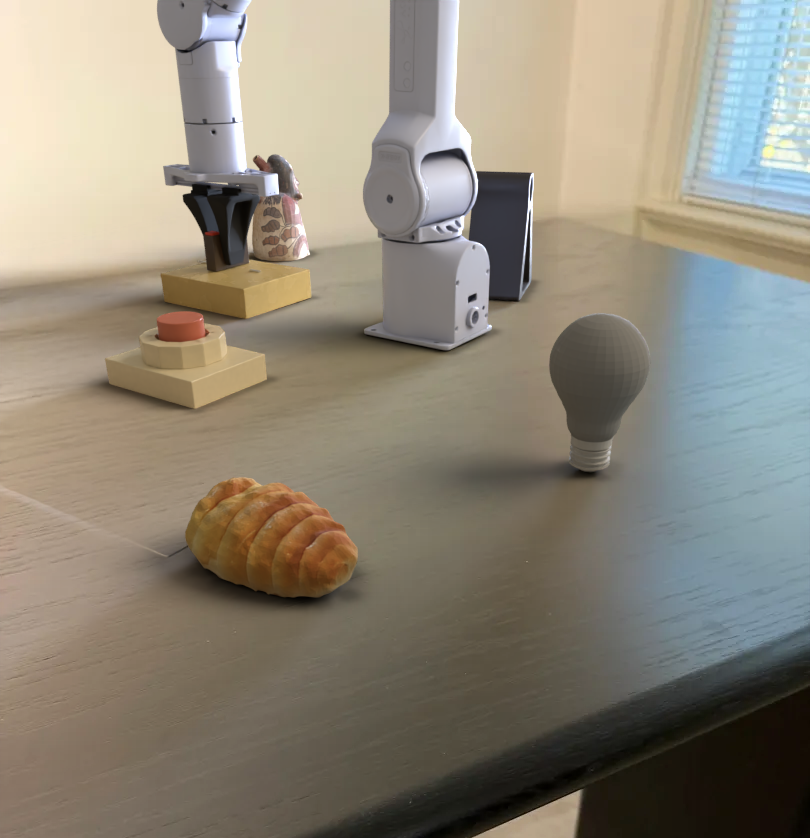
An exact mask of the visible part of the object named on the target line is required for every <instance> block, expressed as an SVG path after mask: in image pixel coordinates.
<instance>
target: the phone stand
mask: <svg viewBox="0 0 810 838" xmlns="http://www.w3.org/2000/svg"><path fill="white" fill-rule="evenodd" d="M475 173H476V176H477V183H478V191H477V197H476V201H475V203H474V206H473V207H472V209H471V210H470V219H469V220H470V221H469V230H468V240H469V241H473V242H477V243H479V244H481V245H483V246H484V247H485V249H486V251H487V254H488V257H489V265H490V275H489V300H500V301H501V300H502V301H515V302H516V301H517V302H520V301H521V299H522V297H523V296H524V294H525V293H526V291H527V289H528V287H529V286H530V285H531V283H532V279H533V278H532V277H533V276H532V275H533V198H534V197H533V196H534V186H535V185H534V183H535V182H534V181H535V179H534V177H535V176H534V172H527V171H526V172H525V171H524V172H522V171H490V170H489V171H487V170H485V171H484V170H475Z"/></svg>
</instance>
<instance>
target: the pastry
mask: <svg viewBox="0 0 810 838" xmlns="http://www.w3.org/2000/svg"><path fill="white" fill-rule="evenodd" d="M184 538H185V542H186V545H187V547H188V548H189V550H190V552H191V553H192V554H193V555H194V557H195V558H196V559H197V560H198V562H199V564H200V565H201V566H202V567H203V569H207V570H209V571H210V572H212V573H214V574H215V575H216V576H217V577H218V578H219V579H222V580H225V581H228V582H231V583H233V584H235V585H237V586H238V585H243V586H245V587H247V588H249V589H251V590H253V591H254V592H257V591H261V592H264V593H266V594H267V595H268V596H269V595H274V596H278V597H280V598H297V597H309V598H321V597H323V596H325V595H328V594H331V593H332V592H334V591H335V590H336V589H338V588H339V587H341V586H343V585H344V584H346V583H348V582H349V581H350V580H351V578H352V576H353V573H354V571H355V568H356V566H357V563H358V559H359V557H358V556H359V549H358V546H357V545H356V544H355V543H354V541H353V540H352V539H351V538H350V537H349V536H348V533H347V531H346V529H345V526H344V525H343V524H342V523H339V522H337V521H334V518H333V517H332V515H331V513H330V512H329V510H328V509H327V508H325V507H320V506H319V505H318V504H317V503H316V502H315V501H313V500H312V499H311V498H310V497H308V496H307V495H306V494H305V493H304V492H303V491H294V490H293V489H292V488H291V487H289V486H287V485H286V484H284V483H282V482H277V481H276V482H270V483H266V484H264V485H262V484H260V483H259V482H257V481H256V480H255V479H253V478H252V477H245V476H239V477H231V478H228V479H225V480H222V481H220V482H218V483H217V484H215V485H213V487H212V488H211V489H209V491H208V493H207V494H206V495H205V496H204V497H203V498H201V499H200V500H198V502H197V503H196V505H195V507H194V509H193V510H192V512H191V516H190V519H189V521H188V523H187V527H186V528H185V532H184Z"/></svg>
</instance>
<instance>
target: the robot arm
mask: <svg viewBox="0 0 810 838" xmlns="http://www.w3.org/2000/svg"><path fill="white" fill-rule="evenodd" d="M252 1H253V0H157V2H156V14H157V21H158V26H159V29H160V30H161V34H162V36H163V37H164V39H165V40H166V41H167V43H168V44H169V45H170V46H171V47H173V48H174V51H175V52H174V53H175V59H176V66H177V76H178V85H179V95H180V103H181V111H182V118H183V126H184V134H185V143H186V152H187V159H188V160H187V161H188V164H182V163H181V164H180V163H175V164H167V165H163V166H162V168H163V176H164V184H165V186H168V187H169V186H170V187H175V186H181V187H189V188H191V190H190V192H187V193H183V194H182V202H183V204H184V205H185V206H186V207H187V209H188V210H189V212H190V213H191V215H192V216H193V218H194V220H195V221H196V224H197V226H198V227H199V229H200V232H201V234H202V236H203V235H205V232H209V231H216V232H219V234H220V240H221V247H222V253H223V257H224V260H225V263H226V265H235V264H238V263H242V262H243V261H244V254H245V247H246V240H247V241H248V235H249V230H250V226H251V223H252V221H253V216H254V212H255V209H256V207H257V205H258V203H259V201H260V196H263V197H267V196H272V195H277V194H279V188H278V174H275V173H268V172H263V171H259V170H258V169H255V168H250V167H247V157H246V146H245V135H244V123H243V113H242V103H241V102H242V101H241V93H240V92H241V91H240V82H239V80H240V79H239V70H238V69H240V67H241V65H240V63H242V51H241V49H242V43H243V41H244V39H245V36H246V32H247V27H248V14H247V13H245V11H246V10H247V8H248V7H249V6H250V4H251V2H252ZM459 8H460V0H389V62H388V63H389V73H388V74H389V76H388V77H389V78H388V79H389V81H388V115H387V117H386V118H385V121H384V122H383V124H382V125H381V126H380V128H379V130H378V132H376V135H375V137H374V138H373V139H372V142H371V160H370V165H369V169H368V171H367V174H366V176H365V178H364V181H363V187H362V201H363V202H362V203H363V206H364V211H365V213H366V215H367V218H368V219H369V221H370V223H371V224H372V225H373V227H374V228H375V229H376V230H377V238H379V239H381V271H382V272H381V277H382V278H381V279H382V321H381V322H377V323H376V324H373V325H370V326H368V327H365V328H364V329H363V333H364V334H365V335H367V336H371V337H372V336H373V337H377V338H382V339H387V340H392V341H396V342H402V343H406V344H411V345H416V346H421V347H425V348H426V347H427V348H431V349H436V350H441V351H450V350H453V349H454V348H455V349H456V348H457V347H458V346H461V345H463V344H465V343H467V342H469V341H471V340H473V339H475V338H478V337H479V336H482V335H485V334H486V333H488V332H490V331H491V330H492V325H491V324H489V323H488V322H489V302H490V301H489V300H490V299H489V275H490V265H489V257H488V254H487V251H486V249H485V247H484V246H483V245H481V244H479V243H477V242H473V241H469V239H467V238H466V237H465V236H464V235H463V230H464V229H465V217H466V216H467V215H468V214H470V213H471V209H472V207H473V206H474V203H475V201H476V197H477V191H478V183H477V176H476V173H475V172H476V170H475V167H474V164H473V160H472V155H471V151H472V150H471V146H472V145H471V144H472V139H471V136H470V133H468V132H467V130H466V128H464V126H463V125H462V124H461V122H460V121H459V120H458V119H457V117H456V114H455V108H456V107H455V105H456V104H455V103H456V84H457V59H458V36H459V35H458V34H459V11H460V9H459Z"/></svg>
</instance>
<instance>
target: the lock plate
mask: <svg viewBox="0 0 810 838" xmlns="http://www.w3.org/2000/svg"><path fill="white" fill-rule="evenodd" d="M160 279H161V287H162V294H163V299H164V300H163V301H164V303H167V304H168V303H169V304H173V305H178V306H183V307H188V308H192V309H197V310H201V311H205V312H210V313H211V312H212V313H215V314H221V315H225V316H230V317H235V318H239V319H244V320H248V319H252V318H253V317H258V316H259V315H263V314H266V313H268V312H272V311H275V310H278V309H281V308H284V307H287V306H290V305H292V304H296V303H299V302H302V301H306V300H308V299H311V298H312V285H311V270H310V268H303V267H298V266H291V265H286V264H285V265H284V264H279V263H273V262H268V261H262V260H261V261H260V260H254V259H249V263H247V264H243V265H240V266H236V267H232V268H228V269H225V270H221V271H217V272H215V271H209V270H207V264H206V260H201V259H199V260H197V263H196V264H193V265H188V266H184V267H181V268H177V269H173V270H169V271H164V272H161V273H160Z"/></svg>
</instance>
